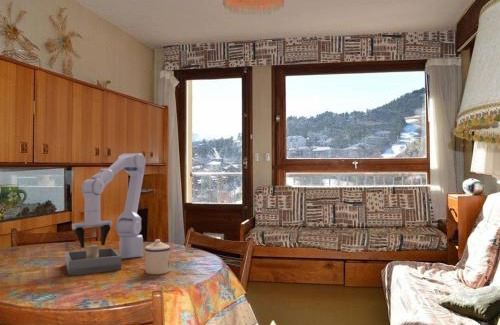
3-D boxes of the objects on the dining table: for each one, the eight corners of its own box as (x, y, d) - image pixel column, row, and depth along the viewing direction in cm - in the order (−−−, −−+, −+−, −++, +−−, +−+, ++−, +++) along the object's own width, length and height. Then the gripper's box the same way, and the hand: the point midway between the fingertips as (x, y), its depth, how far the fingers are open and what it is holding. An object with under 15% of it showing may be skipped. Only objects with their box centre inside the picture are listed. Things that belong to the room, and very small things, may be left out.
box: (113, 259, 172) (113, 247, 172) (121, 269, 156) (121, 256, 156) (65, 264, 164) (65, 252, 164) (68, 275, 148) (68, 261, 148)
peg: (96, 265, 163) (96, 244, 163) (100, 267, 160) (100, 246, 160) (84, 266, 160) (84, 246, 160) (88, 269, 157) (88, 247, 157)
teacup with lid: (174, 272, 152) (174, 240, 152) (150, 276, 146) (150, 242, 147) (161, 266, 161) (161, 235, 162) (138, 269, 156) (138, 238, 156)
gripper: (108, 208, 168) (108, 242, 167) (69, 211, 159) (69, 246, 159) (114, 209, 162) (114, 245, 162) (74, 212, 153) (74, 249, 153)
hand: (92, 246), depth 160 cm, fingers open, 7 cm apart
